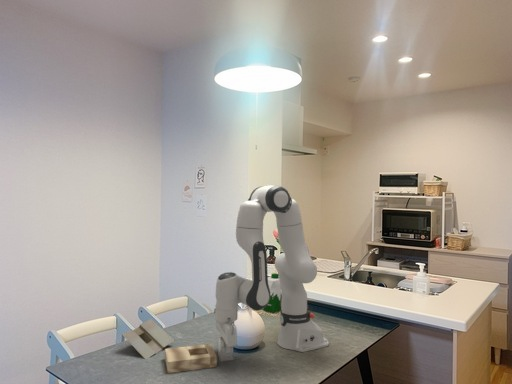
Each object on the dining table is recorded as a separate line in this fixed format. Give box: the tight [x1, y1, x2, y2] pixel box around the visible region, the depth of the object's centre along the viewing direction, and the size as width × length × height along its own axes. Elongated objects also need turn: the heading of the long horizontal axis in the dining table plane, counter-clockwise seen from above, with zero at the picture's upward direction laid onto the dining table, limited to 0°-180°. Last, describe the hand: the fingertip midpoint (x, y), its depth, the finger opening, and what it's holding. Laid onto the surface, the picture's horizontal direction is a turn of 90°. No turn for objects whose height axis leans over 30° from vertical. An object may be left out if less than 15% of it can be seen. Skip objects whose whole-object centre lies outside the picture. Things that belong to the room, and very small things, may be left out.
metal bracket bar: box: [217, 336, 234, 362], centre depth 150 cm, size 5×4×8 cm
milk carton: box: [262, 272, 282, 314], centre depth 211 cm, size 9×9×20 cm
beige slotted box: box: [121, 318, 175, 360], centre depth 159 cm, size 16×9×15 cm
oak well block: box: [164, 343, 218, 374], centre depth 146 cm, size 18×12×4 cm, turn 108°
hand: (225, 349), depth 150 cm, fingers closed on metal bracket bar, 4 cm apart
